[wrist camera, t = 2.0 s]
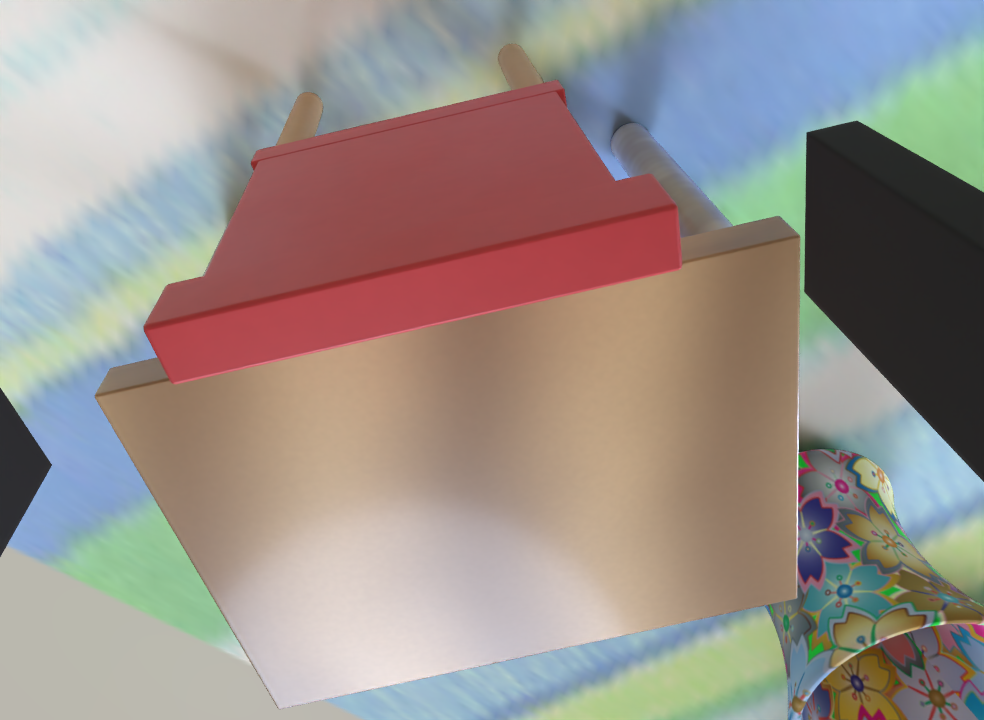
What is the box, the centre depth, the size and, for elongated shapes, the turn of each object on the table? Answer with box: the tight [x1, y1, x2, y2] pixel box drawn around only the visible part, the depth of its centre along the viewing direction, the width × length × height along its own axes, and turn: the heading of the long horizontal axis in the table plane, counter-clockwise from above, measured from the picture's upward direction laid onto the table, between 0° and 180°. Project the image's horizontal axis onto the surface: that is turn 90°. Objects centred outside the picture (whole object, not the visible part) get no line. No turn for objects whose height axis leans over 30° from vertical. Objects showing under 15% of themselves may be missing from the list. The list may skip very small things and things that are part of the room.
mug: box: [765, 449, 984, 720], centre depth 35 cm, size 12×9×11 cm
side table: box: [95, 123, 800, 709], centre depth 26 cm, size 16×12×12 cm
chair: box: [144, 44, 683, 384], centre depth 21 cm, size 9×7×16 cm
